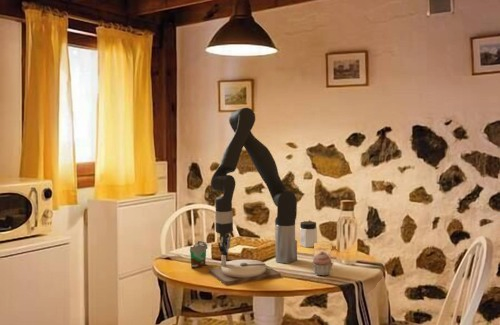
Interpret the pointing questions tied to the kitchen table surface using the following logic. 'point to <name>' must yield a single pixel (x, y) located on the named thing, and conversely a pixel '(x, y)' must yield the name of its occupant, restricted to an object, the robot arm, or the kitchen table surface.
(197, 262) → the food container
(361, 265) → the kitchen table surface
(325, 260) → the cupcake
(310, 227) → the jar
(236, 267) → the dial
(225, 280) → the board
